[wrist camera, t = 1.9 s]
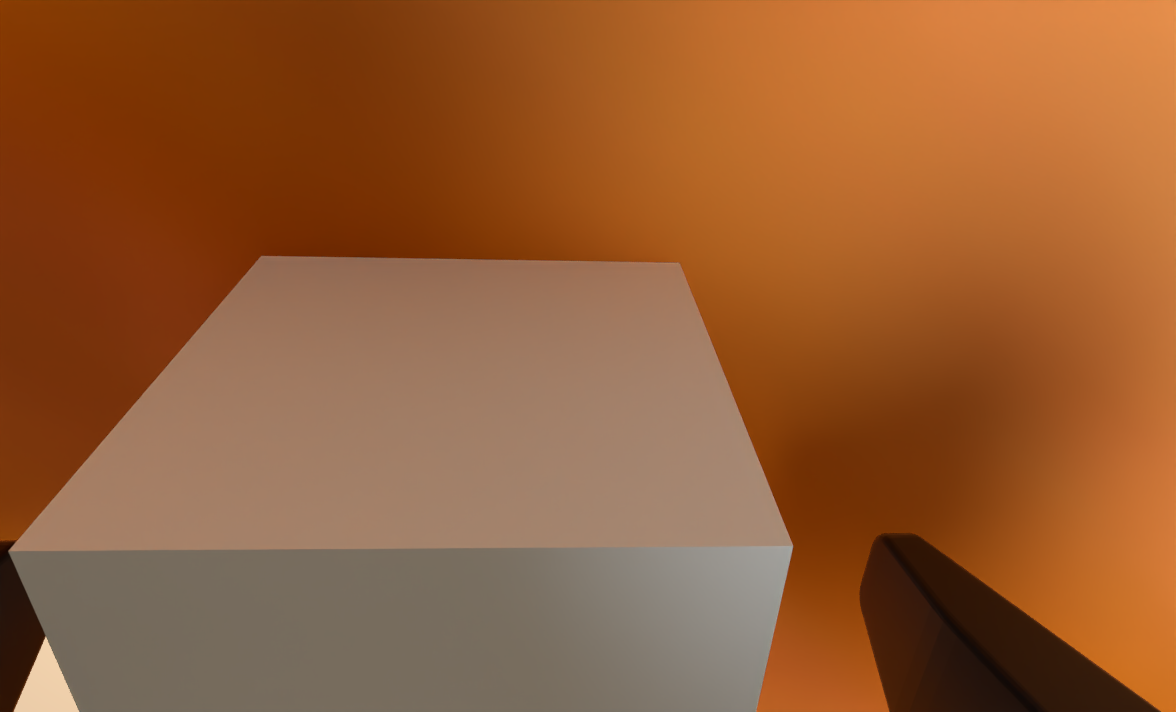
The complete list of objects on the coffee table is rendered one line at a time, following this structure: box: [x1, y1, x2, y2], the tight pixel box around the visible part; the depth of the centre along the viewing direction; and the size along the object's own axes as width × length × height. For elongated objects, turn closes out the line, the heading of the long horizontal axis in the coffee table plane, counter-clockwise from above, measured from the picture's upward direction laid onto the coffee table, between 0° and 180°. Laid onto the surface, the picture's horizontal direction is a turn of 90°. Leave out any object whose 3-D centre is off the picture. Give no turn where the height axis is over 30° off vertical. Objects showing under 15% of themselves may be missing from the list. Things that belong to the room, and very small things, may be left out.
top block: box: [8, 256, 793, 712], centre depth 8 cm, size 5×5×5 cm
